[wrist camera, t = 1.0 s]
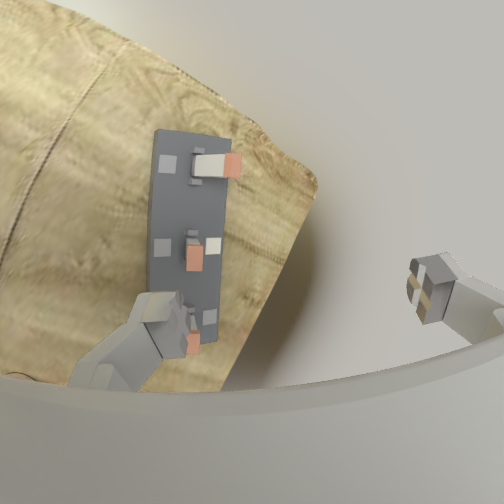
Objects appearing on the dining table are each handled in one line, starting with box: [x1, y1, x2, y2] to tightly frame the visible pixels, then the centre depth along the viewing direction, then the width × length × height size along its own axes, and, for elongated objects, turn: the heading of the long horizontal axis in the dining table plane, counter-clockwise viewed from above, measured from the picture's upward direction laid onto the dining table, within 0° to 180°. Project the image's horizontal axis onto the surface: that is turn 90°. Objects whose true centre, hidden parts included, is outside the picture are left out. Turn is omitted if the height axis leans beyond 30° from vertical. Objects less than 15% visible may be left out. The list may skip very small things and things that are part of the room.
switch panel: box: [147, 129, 231, 344], centre depth 46 cm, size 12×34×4 cm, turn 175°
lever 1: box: [186, 313, 200, 354], centre depth 44 cm, size 2×3×8 cm, turn 175°
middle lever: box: [185, 238, 203, 271], centre depth 42 cm, size 2×3×8 cm, turn 175°
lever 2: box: [191, 153, 242, 179], centre depth 41 cm, size 2×3×8 cm, turn 175°
